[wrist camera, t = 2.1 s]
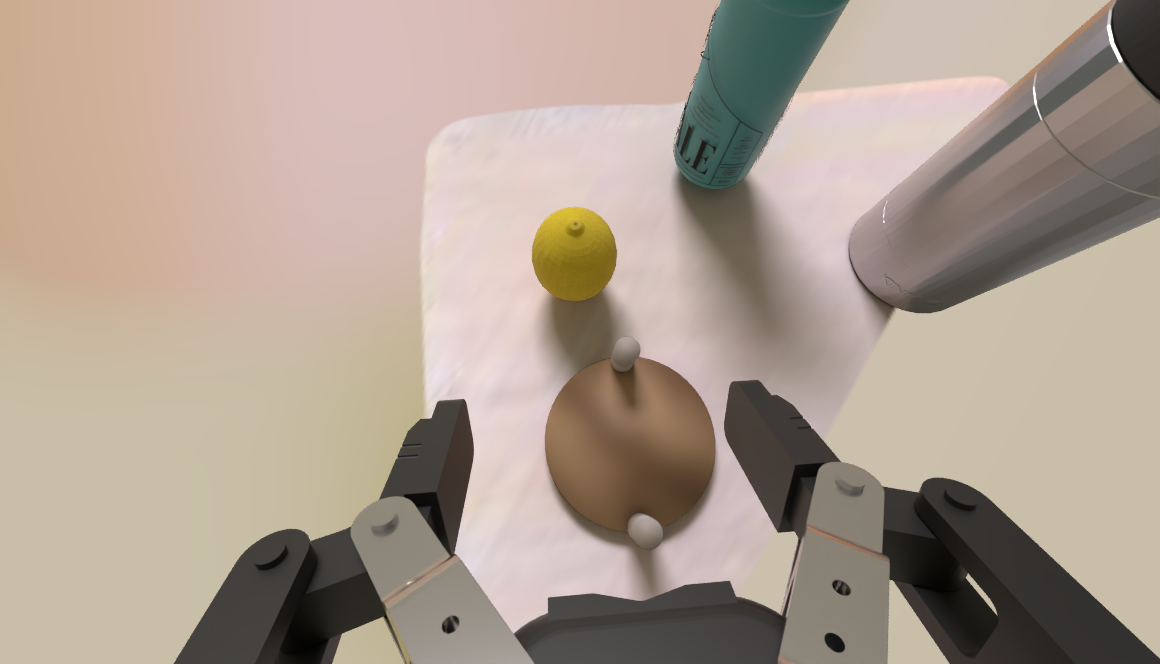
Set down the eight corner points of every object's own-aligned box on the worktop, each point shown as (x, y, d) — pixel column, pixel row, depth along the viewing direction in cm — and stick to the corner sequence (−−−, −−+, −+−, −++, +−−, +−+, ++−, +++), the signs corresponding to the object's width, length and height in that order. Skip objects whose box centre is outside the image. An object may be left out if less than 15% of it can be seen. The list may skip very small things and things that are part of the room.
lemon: (610, 318, 32) (622, 270, 24) (533, 314, 32) (522, 265, 24) (611, 250, 33) (624, 185, 26) (539, 246, 33) (530, 180, 26)
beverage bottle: (759, 161, 36) (971, -184, 17) (720, 219, 34) (907, -94, 15) (691, 124, 37) (819, -241, 18) (650, 178, 35) (744, -163, 16)
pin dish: (597, 332, 31) (601, 312, 27) (737, 411, 30) (762, 402, 26) (513, 470, 28) (504, 470, 24) (663, 566, 27) (679, 582, 23)
